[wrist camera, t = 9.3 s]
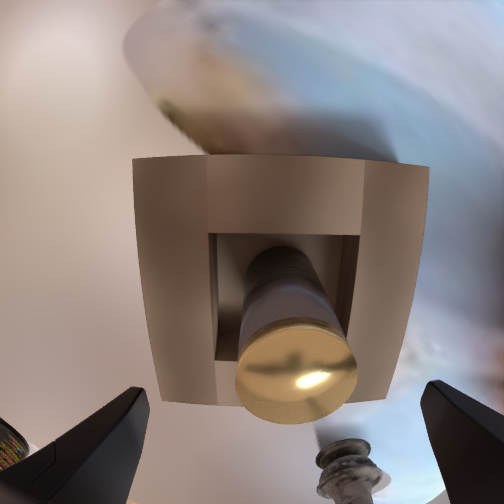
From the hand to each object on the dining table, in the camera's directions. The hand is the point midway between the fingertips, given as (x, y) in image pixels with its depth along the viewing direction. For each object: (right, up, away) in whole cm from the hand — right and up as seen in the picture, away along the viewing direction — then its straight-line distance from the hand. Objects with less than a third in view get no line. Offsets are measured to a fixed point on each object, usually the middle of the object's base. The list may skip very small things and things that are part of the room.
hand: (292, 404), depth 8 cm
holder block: (0, +3, +10) cm, 11 cm away
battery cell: (0, +3, +9) cm, 10 cm away
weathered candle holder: (+7, -14, +15) cm, 22 cm away
